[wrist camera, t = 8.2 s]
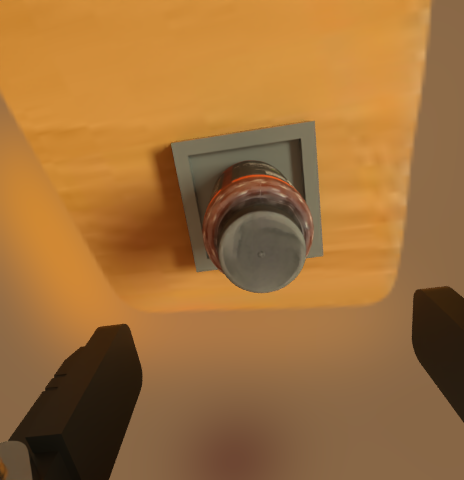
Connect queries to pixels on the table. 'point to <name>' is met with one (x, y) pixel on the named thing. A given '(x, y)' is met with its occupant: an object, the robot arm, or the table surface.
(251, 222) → the supplement bottle
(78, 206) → the table surface
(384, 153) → the table surface
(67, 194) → the table surface
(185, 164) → the gray square tray
